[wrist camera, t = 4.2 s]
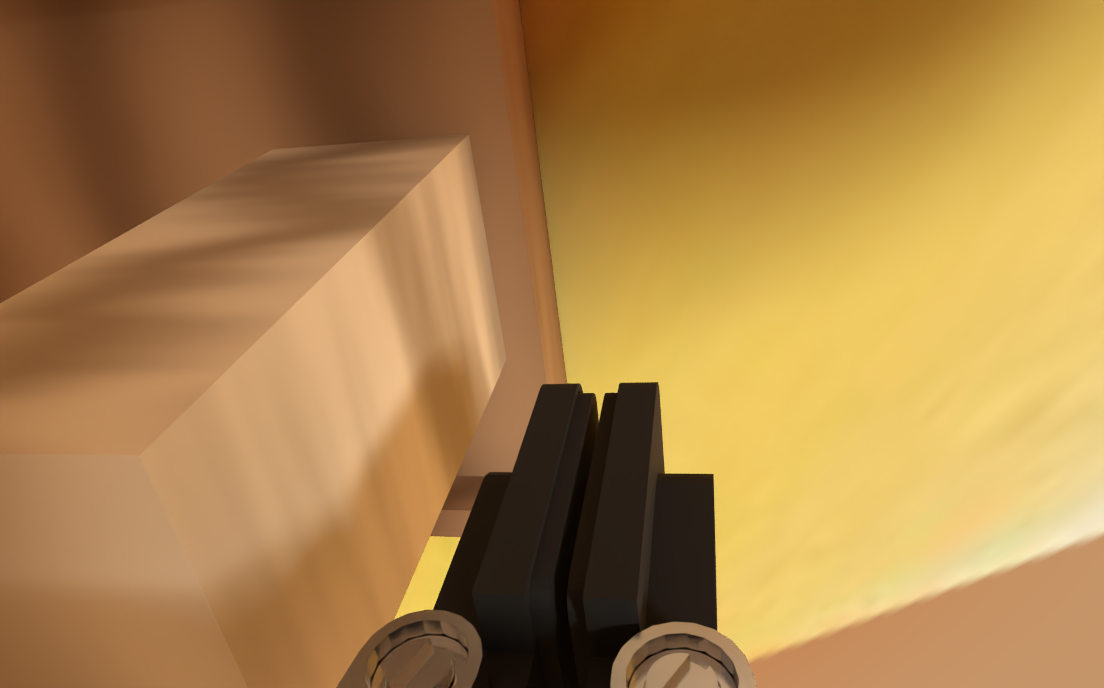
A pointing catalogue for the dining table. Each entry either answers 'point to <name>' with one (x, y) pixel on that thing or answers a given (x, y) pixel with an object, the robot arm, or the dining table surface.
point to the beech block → (243, 422)
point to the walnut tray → (275, 139)
